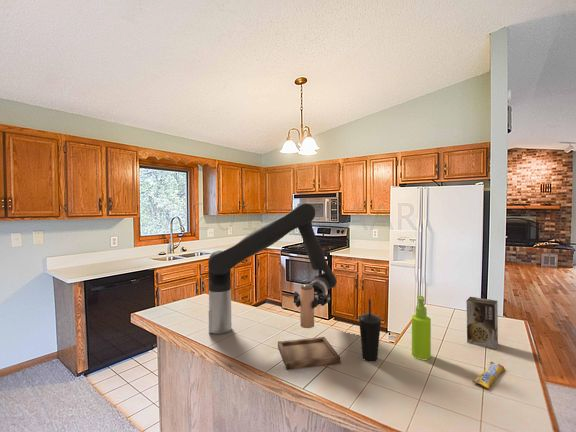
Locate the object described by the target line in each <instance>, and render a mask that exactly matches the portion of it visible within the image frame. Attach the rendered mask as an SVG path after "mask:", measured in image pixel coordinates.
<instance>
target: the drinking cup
mask: <svg viewBox="0 0 576 432" xmlns="http://www.w3.org/2000/svg"><path fill="white" fill-rule="evenodd" d="M371 304H372V299H371V298H368V313H363V314H360V315H358V317H357V319H358V321H359V334H360V344H361V346H360V347H361V354H362V355H361V356H362V359H363V360H364V359H365V360H364V361H366V362H369V361H374V362H377V360H378V356H379V355H378V354H379V347H380V345H379V344H380V343H379V342H380V333H381V325H382V317H380V316H379V315H377V314H374V313H371V312H372V310H371V309H372V308H371V307H372V305H371Z"/></svg>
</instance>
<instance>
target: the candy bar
mask: <svg viewBox="0 0 576 432" xmlns="http://www.w3.org/2000/svg"><path fill="white" fill-rule="evenodd" d="M504 370H505V366H503V365H502V364H500V363H497V364H496V363H495V362H493V361H490V363H489V365H488V367H487V368H486V369H485V370H484V371H483V372H482V373H481V374H480V375H479V376H478V377H476V378H475V379H474V380H471V383H476V384H478V385H481V386H482V387H484V388H486V389H489V388H490V387H492V384H493V383H494V382H495V381H496V380H497V379H498V377H500V375H501V374H502V373H501V372H504ZM500 373H501V374H500ZM499 374H500V375H499ZM496 378H497V379H496ZM495 379H496V380H495ZM494 380H495V381H494Z"/></svg>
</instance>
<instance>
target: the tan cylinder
mask: <svg viewBox="0 0 576 432" xmlns="http://www.w3.org/2000/svg"><path fill="white" fill-rule="evenodd" d="M299 294H300V306H299V310H300V311H299V313H300V315H299V317H300V318H299V319H300V320H299V321H300V327H301V328H303V329H312V328H314V327H315V308H314V309H312V301H313V300H314V288H313V285H311V284H310V283H302V284H301V285H300V288H299Z"/></svg>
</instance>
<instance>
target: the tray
mask: <svg viewBox="0 0 576 432" xmlns="http://www.w3.org/2000/svg"><path fill="white" fill-rule="evenodd" d="M277 349H278V351H279V353H280V356H281V359H282V361H283V364H284V367H285V370H286V371H291V370H297V369H299V370H300V369H306V368H315V367H321V366H330V365H339V364H341V356H340V355H339V353H338V352H337V351H336V350H335V349H334V347H333V346H332V345H331V344H330V342H329V341H328V339H327V338H326V337H325V336H321V337H311V338H301V339H291V340H290V339H289V340H282V341H279V340H278V341H277Z"/></svg>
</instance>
